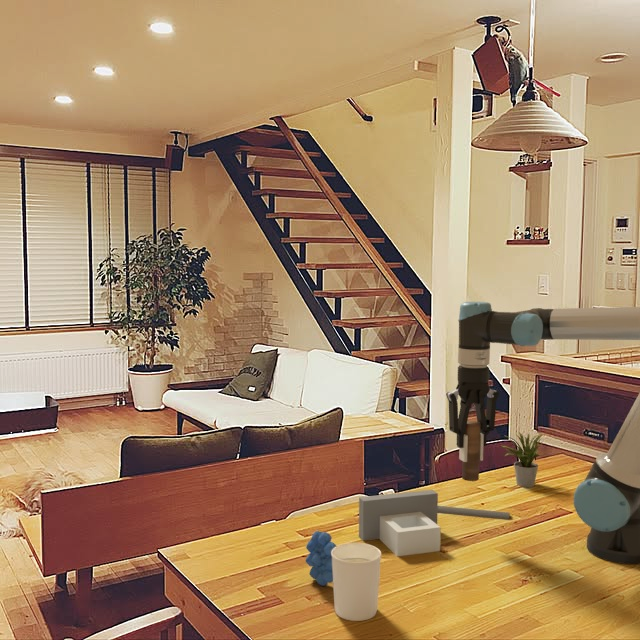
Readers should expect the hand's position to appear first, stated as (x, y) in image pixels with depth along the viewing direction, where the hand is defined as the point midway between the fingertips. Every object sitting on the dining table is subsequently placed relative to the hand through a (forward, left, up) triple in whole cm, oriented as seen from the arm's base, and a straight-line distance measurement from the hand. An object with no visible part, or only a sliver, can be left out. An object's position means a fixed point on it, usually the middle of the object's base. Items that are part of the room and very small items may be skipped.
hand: (471, 459), depth 182 cm
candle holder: (-27, +40, -20) cm, 52 cm away
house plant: (+34, -38, -20) cm, 55 cm away
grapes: (-14, +42, -20) cm, 49 cm away
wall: (+7, +16, -20) cm, 26 cm away
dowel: (0, 0, -5) cm, 5 cm away
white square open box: (0, +16, -20) cm, 26 cm away
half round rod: (+15, -9, -21) cm, 27 cm away
